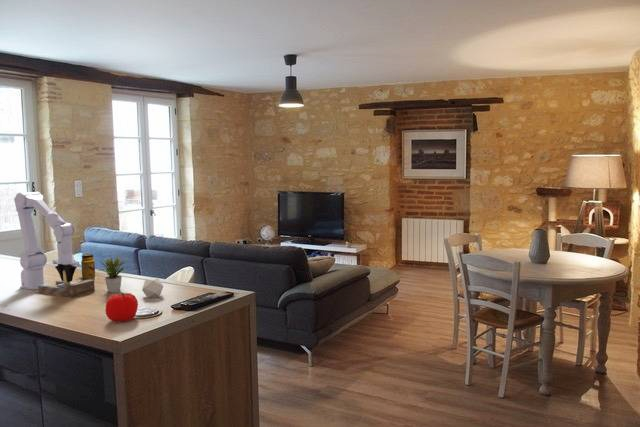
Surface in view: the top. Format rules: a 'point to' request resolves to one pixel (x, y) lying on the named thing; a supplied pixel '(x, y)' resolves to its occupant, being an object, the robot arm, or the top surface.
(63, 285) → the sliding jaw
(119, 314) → the tomato
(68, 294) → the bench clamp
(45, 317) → the top surface
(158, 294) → the die
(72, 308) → the top surface
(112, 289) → the house plant
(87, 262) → the condiment
